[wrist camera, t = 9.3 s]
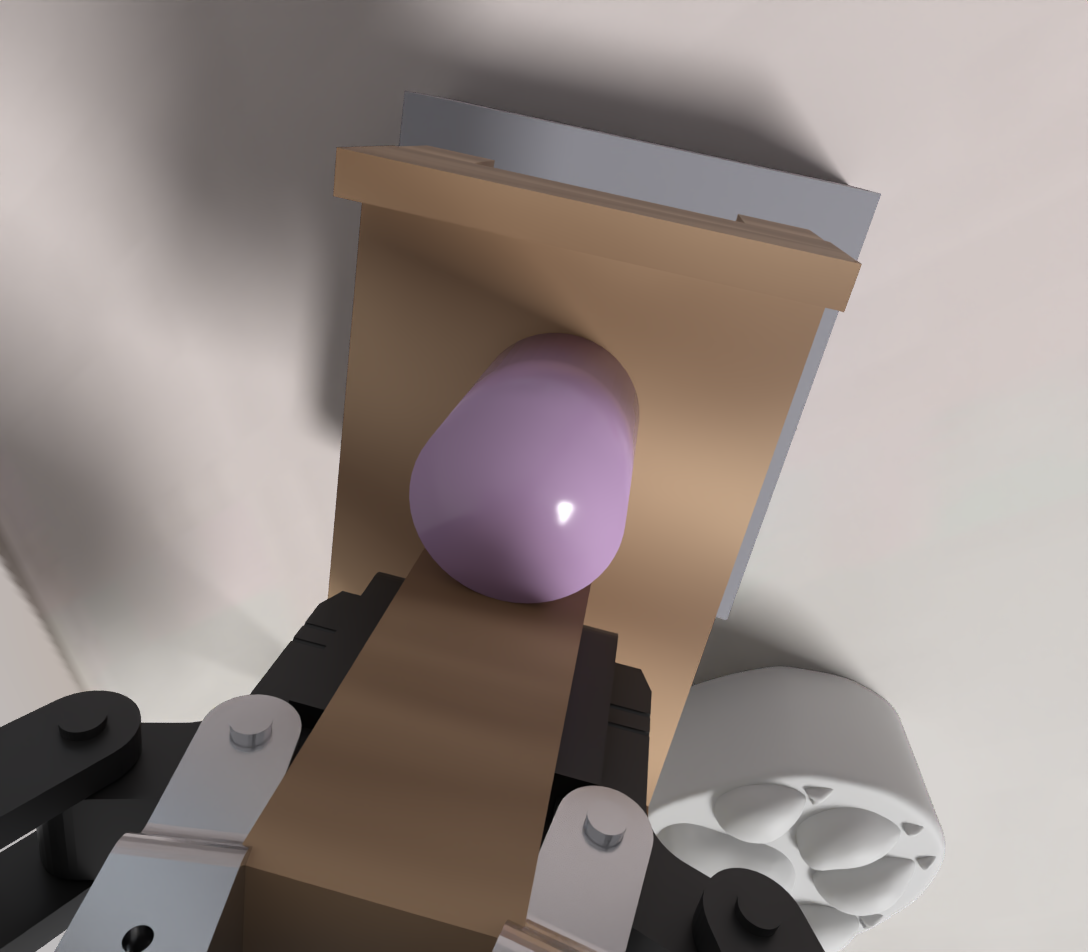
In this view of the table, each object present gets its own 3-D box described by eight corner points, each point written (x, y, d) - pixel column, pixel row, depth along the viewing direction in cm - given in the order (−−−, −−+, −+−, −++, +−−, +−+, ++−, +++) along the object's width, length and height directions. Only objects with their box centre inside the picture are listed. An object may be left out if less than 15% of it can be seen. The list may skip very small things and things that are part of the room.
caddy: (422, 144, 18) (-163, 164, 5) (813, 230, 17) (1160, 474, 5) (363, 658, 24) (36, 1202, 12) (645, 734, 23) (610, 1389, 11)
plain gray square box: (445, 97, 30) (404, 90, 26) (849, 185, 29) (881, 194, 25) (397, 479, 37) (359, 526, 33) (720, 560, 36) (727, 620, 32)
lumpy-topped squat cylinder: (620, 701, 41) (607, 836, 33) (871, 637, 37) (924, 772, 29) (690, 841, 44) (693, 993, 36) (927, 795, 40) (988, 954, 32)
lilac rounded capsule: (488, 317, 15) (419, 383, 11) (656, 351, 15) (648, 432, 11) (467, 470, 17) (401, 576, 13) (621, 503, 16) (602, 623, 12)
